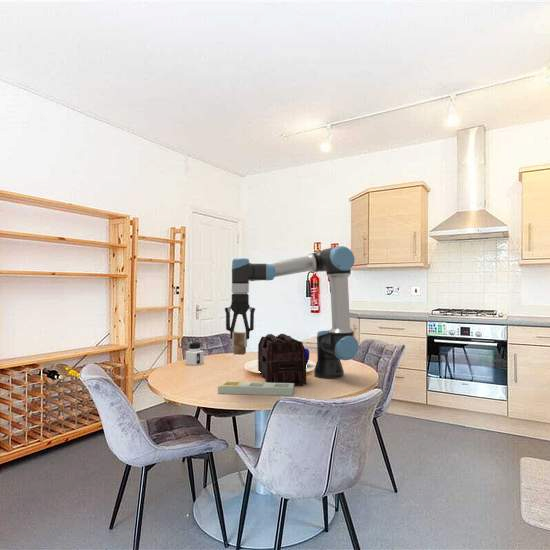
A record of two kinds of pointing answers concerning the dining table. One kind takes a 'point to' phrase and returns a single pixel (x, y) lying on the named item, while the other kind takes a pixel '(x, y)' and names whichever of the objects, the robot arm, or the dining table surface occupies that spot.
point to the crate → (282, 360)
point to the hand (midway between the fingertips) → (239, 346)
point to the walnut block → (239, 344)
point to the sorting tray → (256, 388)
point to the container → (194, 354)
